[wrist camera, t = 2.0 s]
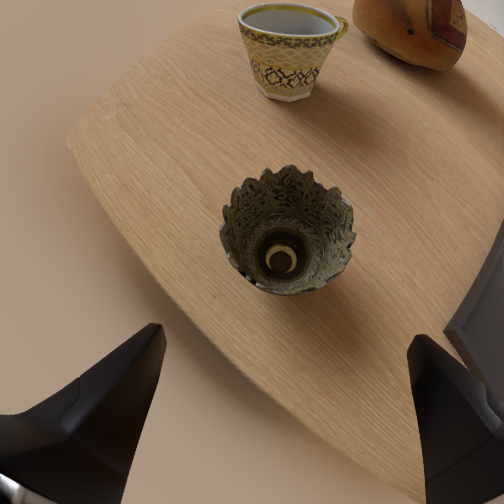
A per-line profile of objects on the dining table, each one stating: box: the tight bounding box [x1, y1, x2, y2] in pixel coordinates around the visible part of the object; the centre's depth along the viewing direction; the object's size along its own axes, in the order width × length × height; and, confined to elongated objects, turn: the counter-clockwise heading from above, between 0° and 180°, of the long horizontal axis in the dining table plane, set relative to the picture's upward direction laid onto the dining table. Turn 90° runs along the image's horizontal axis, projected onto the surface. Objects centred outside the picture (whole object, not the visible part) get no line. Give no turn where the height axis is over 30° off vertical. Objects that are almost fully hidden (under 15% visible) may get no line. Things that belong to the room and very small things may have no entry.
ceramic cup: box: [238, 2, 348, 102], centre depth 24 cm, size 13×10×10 cm
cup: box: [219, 165, 357, 296], centre depth 18 cm, size 8×7×8 cm
